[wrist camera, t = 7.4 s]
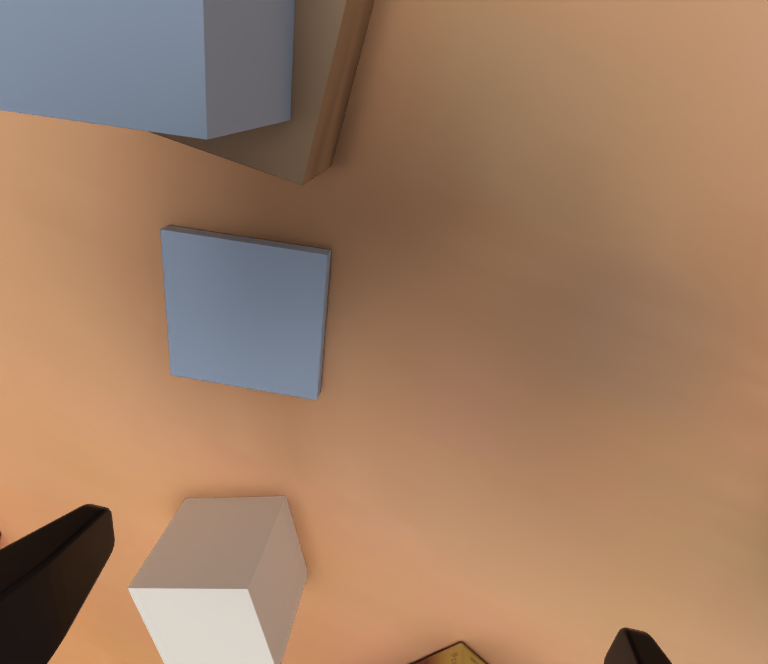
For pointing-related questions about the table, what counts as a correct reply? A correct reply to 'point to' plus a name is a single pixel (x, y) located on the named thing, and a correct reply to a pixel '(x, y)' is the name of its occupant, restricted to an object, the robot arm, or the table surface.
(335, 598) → the table surface
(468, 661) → the candy box
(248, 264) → the tile
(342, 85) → the walnut block
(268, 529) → the cream cube
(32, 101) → the blue cube
